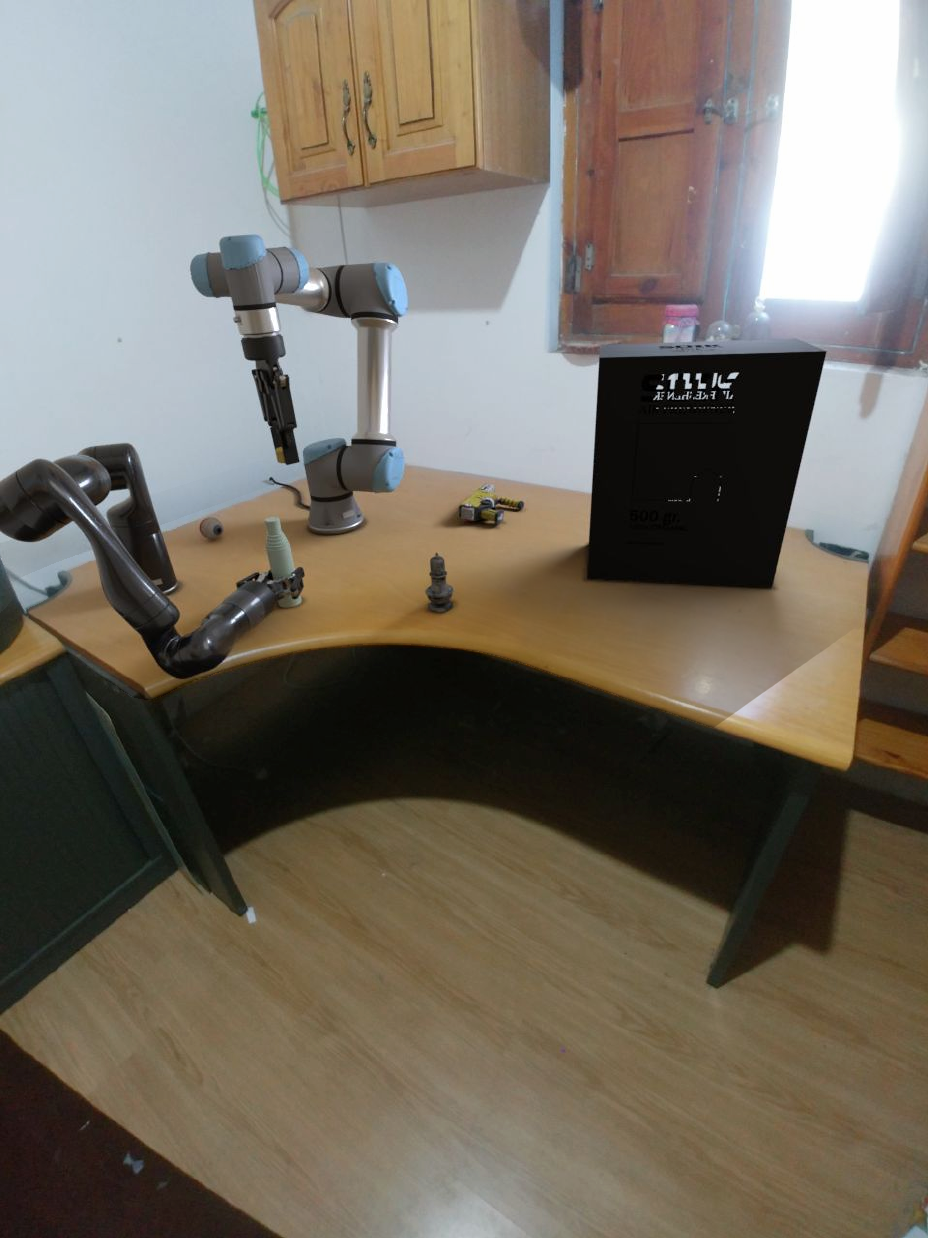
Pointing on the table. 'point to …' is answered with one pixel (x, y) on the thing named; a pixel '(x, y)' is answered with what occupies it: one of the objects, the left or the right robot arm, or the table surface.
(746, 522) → the cardboard box
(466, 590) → the table surface
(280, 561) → the bottle
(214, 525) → the eyeball
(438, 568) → the grey chess piece
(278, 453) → the cap
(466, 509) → the toy gun
